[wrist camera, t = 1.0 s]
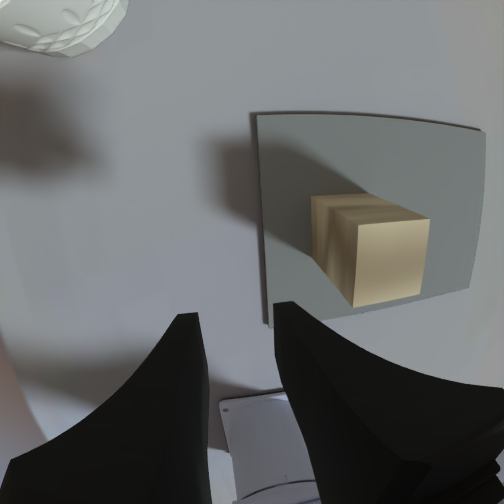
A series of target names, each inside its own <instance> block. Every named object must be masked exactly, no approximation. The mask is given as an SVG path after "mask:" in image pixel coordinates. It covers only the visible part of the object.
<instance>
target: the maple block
mask: <svg viewBox="0 0 504 504" xmlns="http://www.w3.org/2000/svg"><path fill="white" fill-rule="evenodd" d="M429 225H430V219H429V218H427V217H425V216H422V215H420V214H418V213H416V212H413V211H411V210H409V209H406V208H404V207H402V206H399V205H397V204H395V203H392V202H390V201H387V200H385V199H382V198H380V197H377V196H375V195H372V194H370V193H359V194H340V195H323V196H311V226H312V259H313V260H314V261H315V262H316V263H317V265H318V266H319V267H320V268H321V270H322V271H323V272H324V273H325V274H326V276H327V277H328V278H329V279H330V281H331V282H332V283H333V284H334V285H335V287H336V288H337V289H338V290H339V292H340V293H341V294H342V295H343V297H344V298H345V299H346V300H347V302H348V303H349V304H350V305H351V307H352V308H355V307H360V306H365V305H371V304H376V303H381V302H386V301H390V300H395V299H400V298H404V297H409V296H414V295H418V294H420V289H421V284H422V278H423V272H424V265H425V258H426V251H427V243H428V235H429Z"/></svg>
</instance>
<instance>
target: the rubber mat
mask: <svg viewBox="0 0 504 504" xmlns="http://www.w3.org/2000/svg"><path fill="white" fill-rule="evenodd" d="M256 126H257V141H258V156H259V172H260V188H261V204H262V221H263V238H264V255H265V274H266V292H267V312H268V326H269V328H274V321H273V303H279V302H287V301H294V302H295V303H296V304H298V305H299V306H300V307H302V308H303V309H304V310H305V311H307V312H308V313H309V314H311V315H312V316H313V317H315V318H316V319H317V320H319V321H320V320H326V319H332V318H337V317H343V316H348V315H353V314H358V313H364V312H369V311H373V310H378V309H383V308H388V307H392V306H397V305H401V304H406V303H410V302H414V301H419V300H423V299H427V298H431V297H435V296H439V295H443V294H447V293H450V292H454V291H458V290H462V289H465V288H469V284H470V280H471V275H472V270H473V266H474V260H475V255H476V249H477V243H478V237H479V230H480V223H481V215H482V206H483V195H484V181H485V157H486V132H481V131H477V130H471V129H466V128H461V127H455V126H449V125H443V124H436V123H429V122H421V121H413V120H404V119H395V118H384V117H370V116H354V115H327V114H283V115H257V116H256ZM359 193H370V194H372V195H375V196H377V197H380V198H382V199H385V200H387V201H390V202H392V203H395V204H397V205H399V206H402V207H404V208H406V209H409V210H411V211H413V212H416V213H418V214H420V215H422V216H425V217H427V218H429V219H430V225H429V235H428V243H427V251H426V258H425V265H424V272H423V278H422V284H421V289H420V294H418V295H414V296H409V297H404V298H400V299H395V300H390V301H386V302H381V303H376V304H371V305H365V306H360V307H355V308H352V307H351V305H350V304H349V303H348V302H347V300H346V299H345V298H344V297H343V295H342V294H341V293H340V292H339V290H338V289H337V288H336V287H335V285H334V284H333V283H332V282H331V281H330V279H329V278H328V277H327V276H326V274H325V273H324V272H323V271H322V270H321V268H320V267H319V266H318V265H317V263H316V262H315V261H314V260H313V259H312V226H311V196H323V195H340V194H359Z"/></svg>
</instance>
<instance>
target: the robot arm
mask: <svg viewBox="0 0 504 504" xmlns="http://www.w3.org/2000/svg"><path fill="white" fill-rule="evenodd" d="M273 321H274V349H275V358H276V363H277V367H278V371H279V375H280V379H281V383H282V385H283V388H284V390H285V392H280V393H273V394H267V395H260V396H253V397H246V398H238V399H229V400H222V401H220V402H219V409H220V413H221V418H222V422H223V426H224V431H225V435H226V439H227V443H228V448H229V452H230V456H231V457H232V463H233V471H234V479H235V486H236V494H237V501H233V502H232V504H504V483H501V482H500V480H499V479H498V477H497V476H496V474H497V473H498V472H499V471H500V466H499V465H498V463H497V462H496V460H495V459H496V458H497V457H498V455H499V454H500V453H501V452H502V450H503V449H504V389H503V388H498V387H488V386H479V385H471V384H464V383H459V382H454V381H449V380H445V379H441V378H437V377H433V376H429V375H426V374H422V373H420V372H417V371H414V370H411V369H408V368H405V367H402V366H400V365H397V364H395V363H392V362H390V361H387V360H385V359H383V358H381V357H379V356H377V355H375V354H372V353H370V352H368V351H366V350H365V349H363V348H361V347H359V346H357V345H356V344H354V343H352V342H351V341H349V340H347V339H345V338H344V337H342V336H341V335H339V334H338V333H336V332H335V331H333V330H332V329H330V328H329V327H327V326H326V325H324V324H323V323H322V322H320V321H319V320H317V319H316V318H315V317H313V316H312V315H311V314H309V313H308V312H307V311H305V310H304V309H303V308H302V307H300V306H299V305H298V304H296V303H295V302H294V301H287V302H279V303H273ZM225 408H226V409H225ZM208 415H209V378H208V365H207V359H206V354H205V349H204V344H203V339H202V333H201V328H200V322H199V317H198V312H195V313H185V314H178V315H177V316H176V317H175V318H174V320H173V321H172V323H171V324H170V326H169V327H168V329H167V330H166V332H165V333H164V335H163V336H162V338H161V339H160V340H159V342H158V343H157V345H156V346H155V347H154V349H153V350H152V351H151V353H150V354H149V355H148V357H147V358H146V359H145V360H144V362H143V363H142V364H141V365H140V366H139V368H138V369H137V370H136V371H135V372H134V374H133V375H132V376H131V377H130V378H129V379H128V380H127V381H126V382H125V383H124V385H123V386H121V387H120V388H119V389H118V390H117V391H116V392H115V393H114V394H113V395H112V396H111V397H110V398H109V399H108V400H107V401H105V402H104V403H103V404H102V405H100V406H99V407H98V408H97V409H95V410H94V411H93V412H92V413H90V414H89V415H88V416H87V417H85V418H84V419H83V420H81V421H80V422H79V423H77V424H76V425H74V426H73V427H71V428H70V429H68V430H67V431H65V432H63V433H62V434H60V435H59V436H57V437H55V438H54V439H52V440H50V441H48V442H47V443H45V444H43V445H41V446H39V447H37V448H35V449H33V450H31V451H29V452H27V453H24V454H22V455H20V456H18V457H16V458H13V459H11V460H10V463H9V465H8V468H7V470H6V473H5V476H4V479H3V482H2V485H1V488H0V504H212V498H211V490H210V481H209V471H208V457H207V443H208Z"/></svg>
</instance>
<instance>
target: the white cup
mask: <svg viewBox="0 0 504 504" xmlns="http://www.w3.org/2000/svg"><path fill="white" fill-rule="evenodd" d="M128 3H129V0H0V42H1V43H5V44H8V45H12V46H17V47H21V48H24V49H28V50H32V51H38V52H42V53H45V54H48V55H50V56H58V57H74V56H76V55H79V54H81V53H84V52H87V51H90V50H92V49H94V48H95V47H96V46H98V45H99V44H100V43H101V42H103V41H104V40H105V39H106V38H108V37H109V36H110V35H112V34H113V33H114V31H115V30H116V28H117V27H118V25H119V24H120V22H121V21H122V19H123V18H124V17H125V15H126V12H127V7H128Z"/></svg>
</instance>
